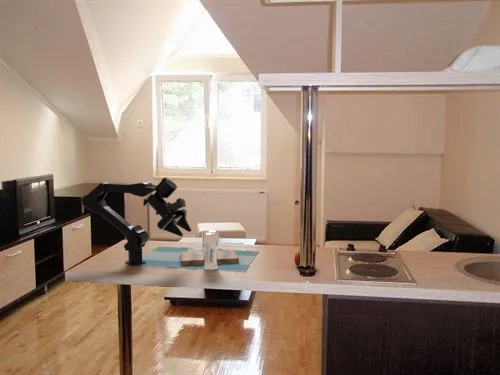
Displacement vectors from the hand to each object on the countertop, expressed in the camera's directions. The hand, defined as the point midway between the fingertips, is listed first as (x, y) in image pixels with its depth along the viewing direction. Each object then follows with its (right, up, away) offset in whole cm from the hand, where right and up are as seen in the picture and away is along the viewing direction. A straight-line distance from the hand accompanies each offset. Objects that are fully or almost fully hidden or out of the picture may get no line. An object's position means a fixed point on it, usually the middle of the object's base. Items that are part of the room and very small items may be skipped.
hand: (186, 233), depth 194 cm
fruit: (+48, -14, +1) cm, 50 cm away
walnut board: (+8, -12, +13) cm, 19 cm away
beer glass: (+10, -14, -1) cm, 17 cm away
